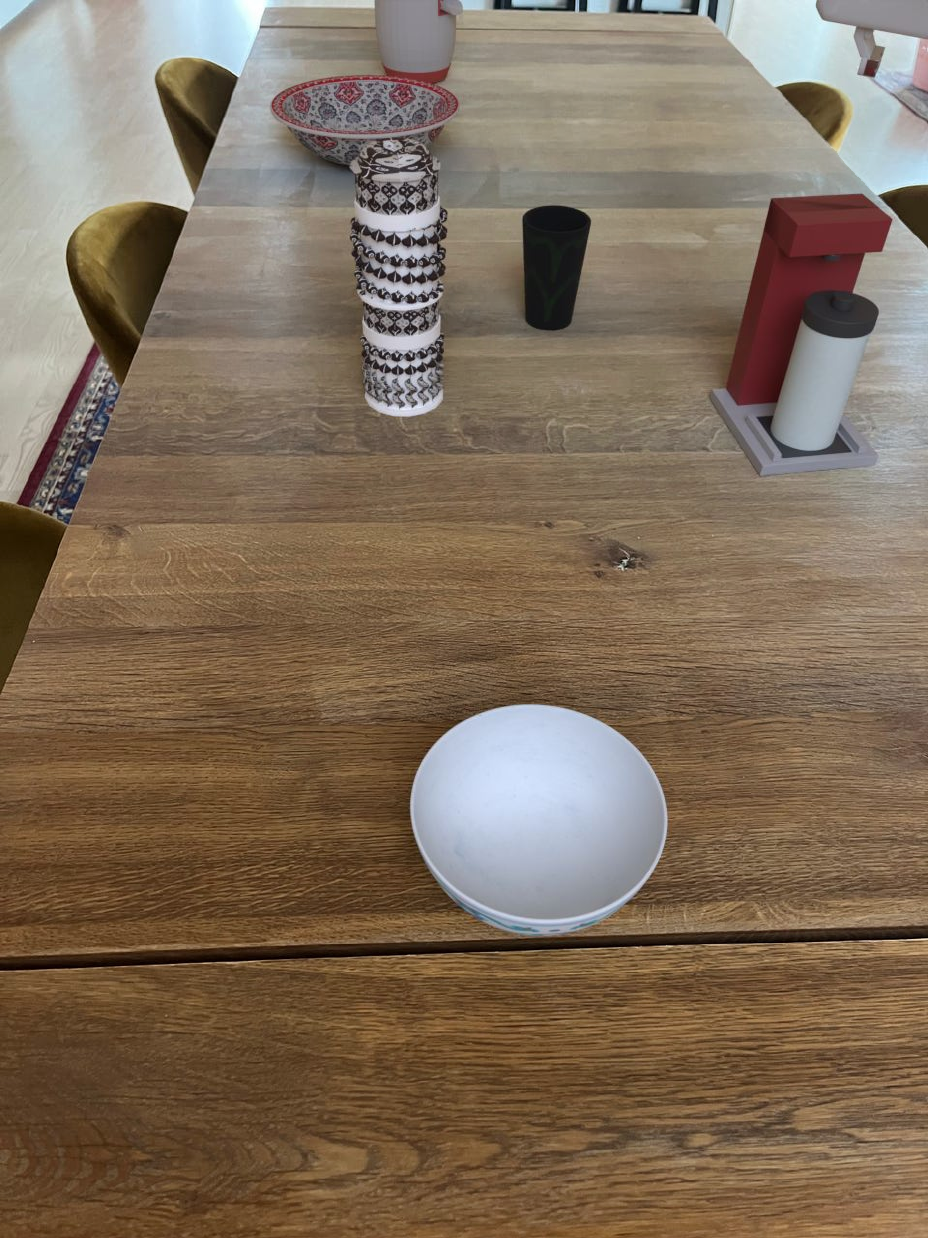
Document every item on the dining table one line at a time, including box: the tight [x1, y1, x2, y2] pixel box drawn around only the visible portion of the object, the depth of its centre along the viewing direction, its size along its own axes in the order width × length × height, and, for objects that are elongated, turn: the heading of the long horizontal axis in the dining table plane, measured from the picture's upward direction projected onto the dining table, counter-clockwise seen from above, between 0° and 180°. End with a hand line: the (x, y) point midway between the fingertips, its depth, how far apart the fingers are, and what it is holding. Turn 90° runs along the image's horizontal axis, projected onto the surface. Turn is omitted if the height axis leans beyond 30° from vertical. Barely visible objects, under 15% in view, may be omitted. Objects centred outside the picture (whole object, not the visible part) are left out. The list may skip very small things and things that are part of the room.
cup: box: [521, 205, 592, 331], centre depth 109 cm, size 8×8×12 cm
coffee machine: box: [709, 193, 894, 477], centre depth 89 cm, size 14×12×21 cm
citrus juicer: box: [374, 0, 464, 84], centre depth 174 cm, size 16×17×20 cm
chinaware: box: [409, 703, 668, 937], centre depth 58 cm, size 15×15×8 cm
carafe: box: [771, 290, 880, 451], centre depth 89 cm, size 6×6×14 cm
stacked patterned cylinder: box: [349, 138, 449, 418], centre depth 92 cm, size 9×9×25 cm
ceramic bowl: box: [269, 74, 461, 166], centre depth 148 cm, size 29×29×8 cm
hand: (924, 82), depth 79 cm, fingers open, 8 cm apart
